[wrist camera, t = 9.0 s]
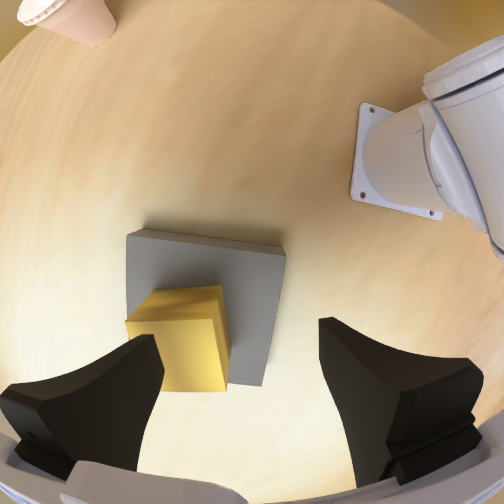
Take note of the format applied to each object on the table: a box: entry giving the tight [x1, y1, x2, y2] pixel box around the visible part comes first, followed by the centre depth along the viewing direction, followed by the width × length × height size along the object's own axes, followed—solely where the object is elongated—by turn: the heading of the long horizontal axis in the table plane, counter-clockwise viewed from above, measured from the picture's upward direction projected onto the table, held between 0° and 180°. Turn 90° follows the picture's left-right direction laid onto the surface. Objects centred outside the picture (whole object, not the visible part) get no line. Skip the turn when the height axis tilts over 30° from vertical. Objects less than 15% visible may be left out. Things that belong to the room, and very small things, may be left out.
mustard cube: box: [125, 285, 231, 392], centre depth 16 cm, size 5×5×5 cm
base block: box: [126, 229, 287, 386], centre depth 21 cm, size 11×11×4 cm
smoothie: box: [17, 0, 116, 48], centre depth 9 cm, size 6×6×14 cm
